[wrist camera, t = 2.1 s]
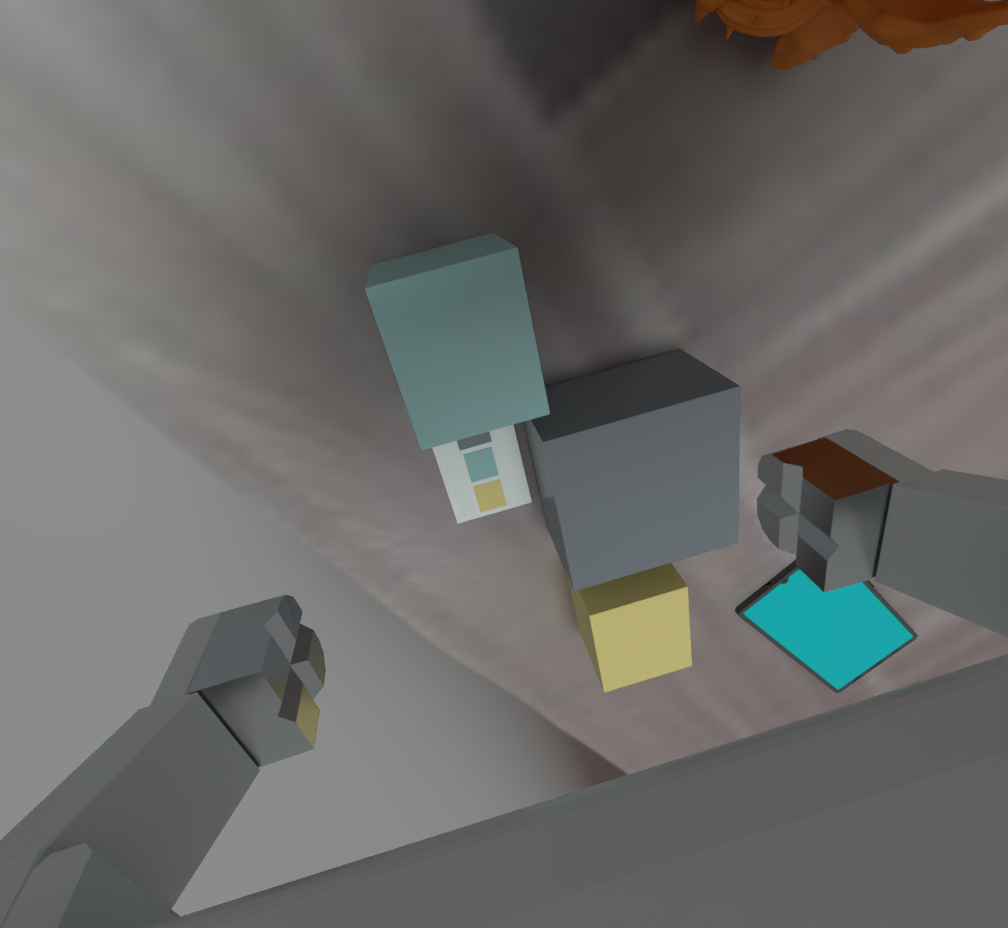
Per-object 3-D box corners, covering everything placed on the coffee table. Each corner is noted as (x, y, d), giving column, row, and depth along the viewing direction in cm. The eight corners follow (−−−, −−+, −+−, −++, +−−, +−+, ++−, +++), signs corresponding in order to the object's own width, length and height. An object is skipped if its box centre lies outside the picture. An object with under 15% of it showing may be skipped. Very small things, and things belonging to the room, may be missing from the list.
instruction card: (423, 421, 24) (423, 422, 24) (507, 397, 24) (507, 399, 24) (457, 522, 27) (457, 524, 27) (531, 501, 27) (532, 502, 27)
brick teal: (371, 264, 21) (364, 288, 16) (492, 232, 21) (517, 247, 17) (416, 400, 24) (421, 450, 19) (522, 370, 24) (550, 414, 20)
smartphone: (837, 694, 41) (737, 614, 34) (830, 685, 41) (729, 605, 35) (920, 636, 39) (831, 539, 32) (910, 627, 40) (821, 531, 33)
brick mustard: (561, 551, 30) (589, 616, 25) (645, 526, 30) (687, 586, 25) (577, 623, 33) (604, 692, 28) (653, 601, 33) (691, 665, 29)
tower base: (517, 395, 24) (542, 442, 20) (680, 349, 25) (739, 386, 20) (547, 528, 28) (574, 591, 24) (687, 487, 29) (738, 542, 24)
